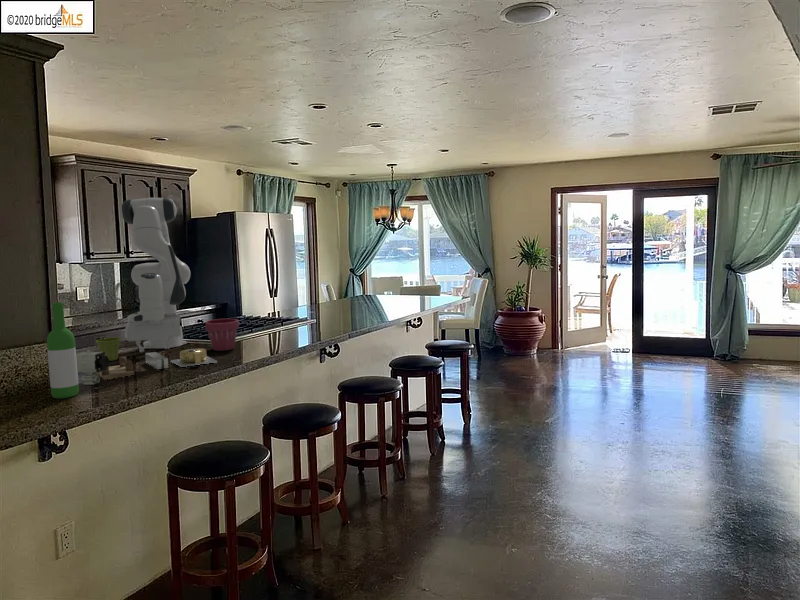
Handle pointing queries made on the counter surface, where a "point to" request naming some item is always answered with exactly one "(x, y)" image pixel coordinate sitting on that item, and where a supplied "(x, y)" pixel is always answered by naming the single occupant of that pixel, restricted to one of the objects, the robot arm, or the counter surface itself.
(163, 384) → the counter surface
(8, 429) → the counter surface
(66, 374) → the wine bottle
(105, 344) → the plant pot
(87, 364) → the pneumatic valve
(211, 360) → the nut base
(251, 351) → the counter surface
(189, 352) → the ring nut
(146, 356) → the white bar
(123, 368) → the rack
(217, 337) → the plant pot
